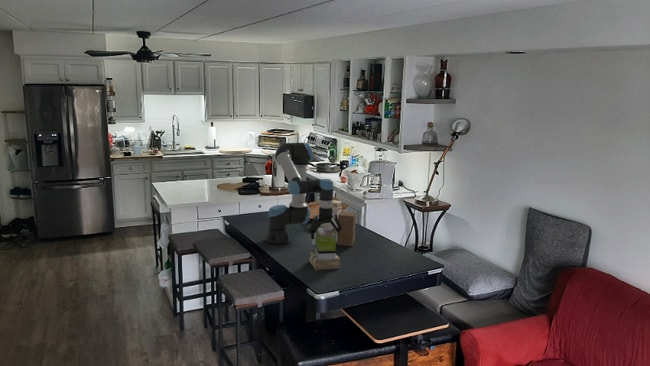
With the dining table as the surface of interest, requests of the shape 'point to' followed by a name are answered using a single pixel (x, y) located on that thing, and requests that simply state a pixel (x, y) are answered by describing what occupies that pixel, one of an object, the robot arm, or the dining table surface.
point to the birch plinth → (324, 262)
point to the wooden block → (346, 228)
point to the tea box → (325, 243)
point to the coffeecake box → (336, 210)
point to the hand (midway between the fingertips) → (324, 243)
